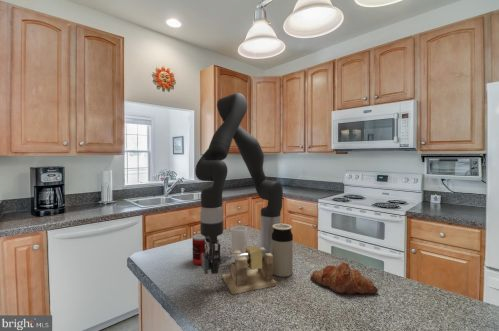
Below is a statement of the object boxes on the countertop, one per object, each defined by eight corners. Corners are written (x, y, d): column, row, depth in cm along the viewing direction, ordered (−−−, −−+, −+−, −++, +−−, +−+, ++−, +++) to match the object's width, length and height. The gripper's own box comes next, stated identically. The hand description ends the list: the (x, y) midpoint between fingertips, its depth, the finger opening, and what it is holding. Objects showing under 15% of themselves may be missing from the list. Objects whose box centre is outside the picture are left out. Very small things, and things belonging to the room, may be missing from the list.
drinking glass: (227, 265, 103) (227, 229, 102) (236, 259, 109) (236, 225, 108) (242, 269, 100) (242, 231, 99) (250, 262, 106) (250, 227, 105)
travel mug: (292, 278, 92) (292, 229, 91) (270, 276, 93) (270, 228, 93) (292, 268, 100) (293, 223, 99) (272, 267, 101) (272, 222, 101)
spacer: (255, 261, 94) (255, 245, 93) (262, 268, 88) (262, 251, 88) (245, 262, 92) (245, 246, 92) (251, 269, 87) (251, 252, 86)
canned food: (213, 258, 110) (213, 233, 110) (208, 266, 102) (208, 239, 102) (196, 257, 111) (195, 232, 111) (190, 265, 103) (189, 238, 103)
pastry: (332, 302, 77) (333, 277, 77) (308, 279, 92) (309, 257, 92) (379, 295, 81) (379, 270, 81) (348, 273, 96) (349, 253, 96)
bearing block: (262, 270, 98) (262, 245, 98) (276, 285, 87) (276, 256, 86) (222, 277, 92) (222, 250, 92) (231, 294, 81) (231, 263, 81)
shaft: (263, 257, 94) (263, 244, 94) (269, 263, 89) (269, 249, 89) (201, 267, 86) (201, 252, 86) (204, 274, 81) (204, 259, 81)
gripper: (228, 223, 79) (228, 276, 79) (217, 214, 92) (218, 258, 93) (204, 226, 76) (204, 280, 77) (197, 215, 90) (197, 261, 90)
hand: (212, 268), depth 85 cm, fingers open, 7 cm apart
